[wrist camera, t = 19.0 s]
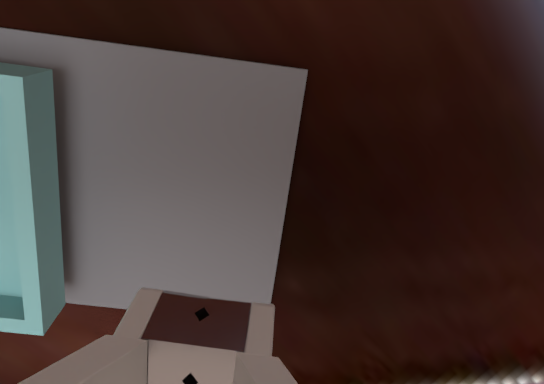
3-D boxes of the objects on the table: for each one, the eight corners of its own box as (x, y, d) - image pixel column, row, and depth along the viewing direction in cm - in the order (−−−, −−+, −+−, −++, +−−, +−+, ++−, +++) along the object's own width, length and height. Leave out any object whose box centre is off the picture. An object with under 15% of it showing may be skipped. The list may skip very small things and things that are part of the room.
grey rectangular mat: (307, 69, 25) (307, 70, 25) (267, 320, 32) (267, 323, 32) (-280, -12, 24) (-289, -12, 23) (-191, 272, 30) (-197, 275, 30)
